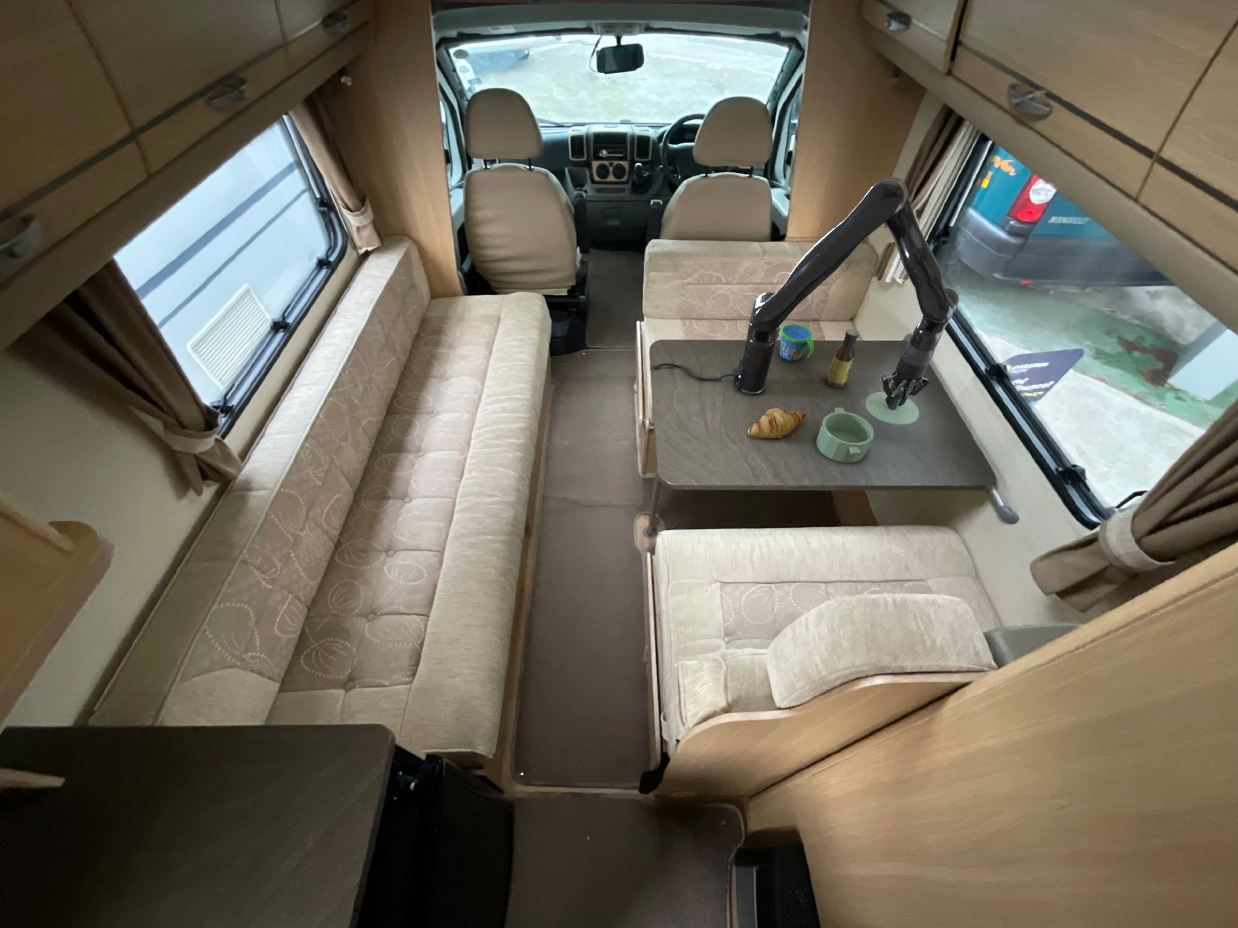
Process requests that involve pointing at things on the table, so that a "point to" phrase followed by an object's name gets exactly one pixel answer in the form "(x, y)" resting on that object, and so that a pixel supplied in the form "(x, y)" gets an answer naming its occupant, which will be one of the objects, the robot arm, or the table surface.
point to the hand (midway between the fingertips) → (893, 404)
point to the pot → (844, 436)
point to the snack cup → (795, 341)
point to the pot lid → (892, 409)
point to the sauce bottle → (843, 359)
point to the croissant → (776, 423)
